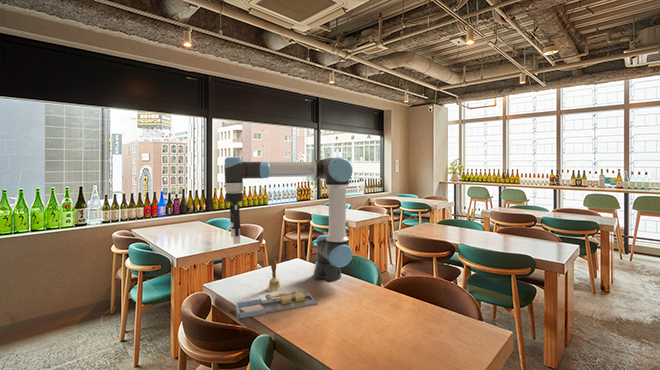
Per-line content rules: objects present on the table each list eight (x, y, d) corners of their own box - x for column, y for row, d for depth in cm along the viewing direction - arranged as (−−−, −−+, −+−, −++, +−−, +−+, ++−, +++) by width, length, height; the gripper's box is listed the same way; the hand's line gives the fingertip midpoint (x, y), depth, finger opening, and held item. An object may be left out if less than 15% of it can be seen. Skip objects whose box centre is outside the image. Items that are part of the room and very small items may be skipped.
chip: (289, 301, 138) (289, 294, 137) (291, 305, 134) (291, 298, 134) (280, 302, 136) (280, 296, 136) (282, 306, 132) (282, 299, 132)
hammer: (294, 293, 149) (294, 290, 149) (296, 297, 144) (296, 294, 144) (266, 298, 144) (266, 294, 144) (268, 302, 139) (268, 298, 139)
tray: (261, 304, 136) (260, 298, 136) (265, 315, 126) (265, 309, 126) (235, 309, 132) (235, 302, 132) (238, 320, 122) (238, 314, 122)
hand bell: (274, 295, 146) (273, 262, 145) (262, 291, 151) (261, 259, 150) (286, 290, 153) (286, 258, 151) (274, 286, 158) (274, 255, 156)
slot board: (309, 296, 145) (309, 292, 145) (317, 306, 135) (317, 302, 134) (261, 304, 137) (261, 300, 136) (266, 315, 126) (266, 311, 126)
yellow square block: (302, 298, 140) (302, 292, 140) (304, 302, 136) (304, 295, 136) (293, 300, 138) (293, 293, 138) (295, 304, 135) (295, 297, 134)
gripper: (223, 190, 147) (224, 234, 148) (227, 195, 124) (228, 247, 125) (239, 190, 150) (241, 233, 151) (246, 194, 127) (247, 245, 128)
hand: (235, 240), depth 138 cm, fingers open, 13 cm apart
